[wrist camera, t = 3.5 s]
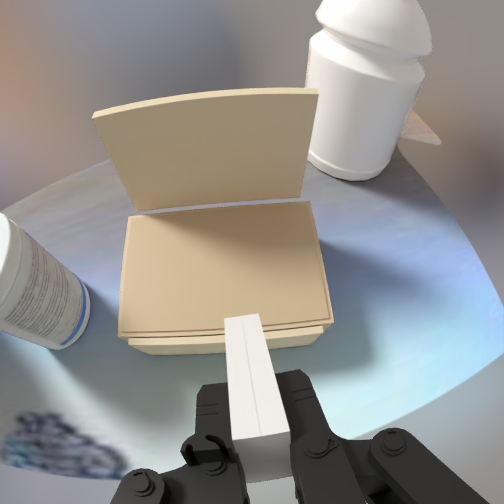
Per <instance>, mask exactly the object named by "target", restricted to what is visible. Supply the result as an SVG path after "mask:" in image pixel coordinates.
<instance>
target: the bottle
mask: <svg viewBox="0 0 504 504" xmlns="http://www.w3.org/2000/svg"><path fill="white" fill-rule="evenodd" d="M316 17H317V19H318V21H319V22H320V23H321V24H322V26H323V29H322V30H321V31H320V32H318V33H316V34H315V35H314V36H313V37H312V38H311V39H310V43H309V57H308V66H307V75H306V83H305V88H316V89H317V91H318V93H319V97H318V103H317V109H316V114H315V120H314V126H313V131H312V136H311V142H310V147H309V152H308V158H307V160H308V161H309V162H311V163H312V164H313V165H314V166H315V167H316V168H318V169H319V170H321V171H323V172H325V173H327V174H329V175H331V176H333V177H336V178H341V179H345V180H350V181H359V180H368V179H370V178H373V177H375V176H378V175H379V174H380V173H381V172H382V171H383V169H384V168H385V167H386V166H387V164H388V163H389V162H390V160H391V155H392V153H393V151H394V149H395V147H396V144H397V142H398V140H399V138H400V136H401V133H402V131H403V129H404V127H405V124H406V122H407V120H408V117H409V115H410V113H411V110H412V108H413V105H414V103H415V101H416V98H417V96H418V94H419V91H420V89H421V86H422V85H423V83H424V79H425V74H424V69H423V67H422V66H421V63H420V61H419V59H420V58H421V57H424V56H427V55H428V54H430V53H431V52H432V44H431V43H432V40H431V33H430V28H429V25H428V22H427V19H426V17H425V15H424V13H423V11H422V9H421V7H420V5H419V4H418V2H417V1H416V0H323V2H322V3H321V5H320V7H319V9H318V10H317V11H316Z"/></svg>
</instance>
